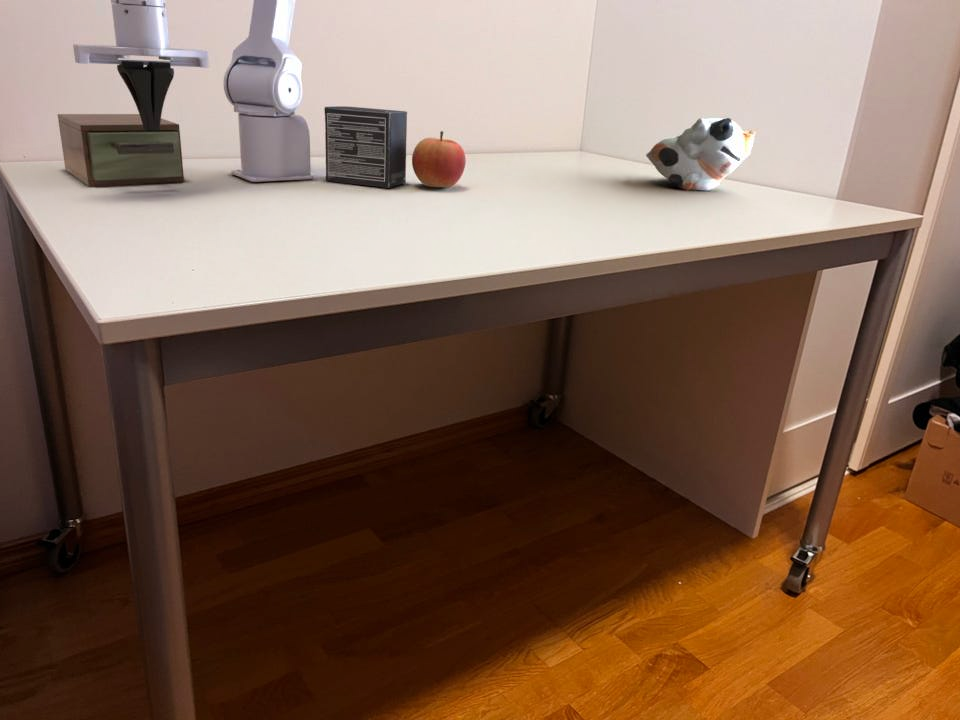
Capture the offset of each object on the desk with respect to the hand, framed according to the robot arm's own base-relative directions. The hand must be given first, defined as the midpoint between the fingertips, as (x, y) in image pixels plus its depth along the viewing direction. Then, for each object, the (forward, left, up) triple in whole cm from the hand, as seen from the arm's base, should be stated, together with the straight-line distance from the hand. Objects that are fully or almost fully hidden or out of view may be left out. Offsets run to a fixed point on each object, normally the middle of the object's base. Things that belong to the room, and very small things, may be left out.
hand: (151, 129), depth 92 cm
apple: (-38, +7, -8) cm, 39 cm away
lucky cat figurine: (-82, +20, -8) cm, 85 cm away
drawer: (0, -11, -7) cm, 13 cm away
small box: (-30, 0, -8) cm, 31 cm away
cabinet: (0, -15, -8) cm, 17 cm away
